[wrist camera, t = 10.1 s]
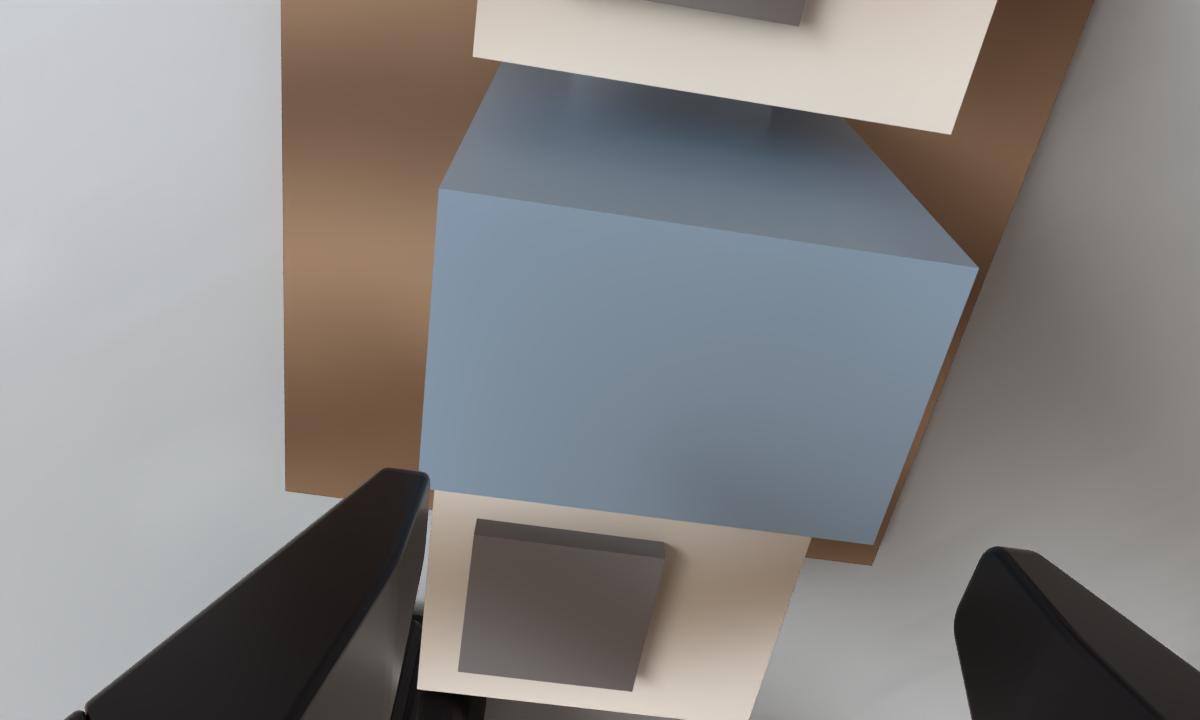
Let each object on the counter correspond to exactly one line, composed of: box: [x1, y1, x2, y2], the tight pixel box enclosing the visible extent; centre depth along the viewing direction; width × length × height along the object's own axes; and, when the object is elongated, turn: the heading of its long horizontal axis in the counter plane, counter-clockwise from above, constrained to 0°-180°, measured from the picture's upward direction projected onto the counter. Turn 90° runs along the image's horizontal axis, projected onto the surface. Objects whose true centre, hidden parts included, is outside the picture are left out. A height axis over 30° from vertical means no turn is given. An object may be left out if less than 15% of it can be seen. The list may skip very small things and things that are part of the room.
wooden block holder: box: [281, 0, 1094, 720], centre depth 15 cm, size 17×14×7 cm
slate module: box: [419, 61, 979, 545], centre depth 14 cm, size 4×6×7 cm, turn 81°
